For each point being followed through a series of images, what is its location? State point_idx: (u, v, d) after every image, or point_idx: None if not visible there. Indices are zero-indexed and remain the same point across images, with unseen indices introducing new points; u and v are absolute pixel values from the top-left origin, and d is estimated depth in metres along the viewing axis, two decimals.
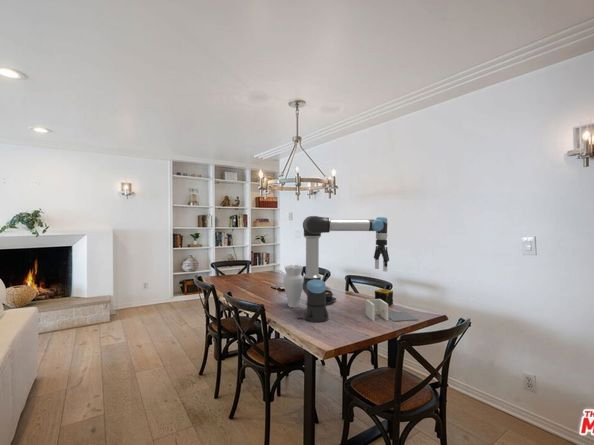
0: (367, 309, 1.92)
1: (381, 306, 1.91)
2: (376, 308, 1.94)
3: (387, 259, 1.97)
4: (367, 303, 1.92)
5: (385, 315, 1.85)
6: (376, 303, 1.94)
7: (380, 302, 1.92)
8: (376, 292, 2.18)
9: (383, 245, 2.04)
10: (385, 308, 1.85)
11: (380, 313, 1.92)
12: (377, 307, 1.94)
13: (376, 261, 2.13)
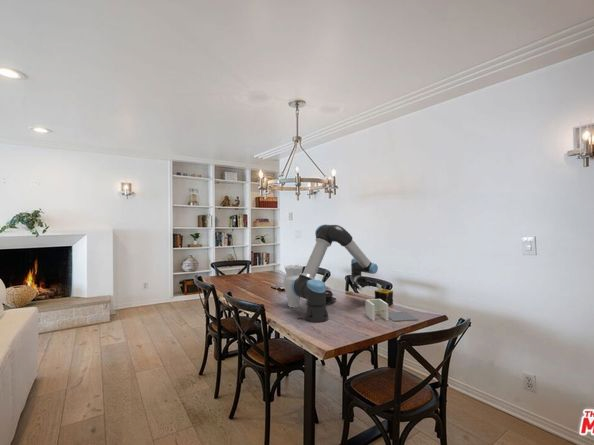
0: (367, 309, 1.92)
1: (381, 306, 1.91)
2: (376, 308, 1.94)
3: None
4: (367, 303, 1.92)
5: (385, 315, 1.85)
6: (376, 303, 1.94)
7: (380, 302, 1.92)
8: (376, 292, 2.18)
9: None
10: (385, 308, 1.85)
11: (380, 313, 1.92)
12: (377, 307, 1.94)
13: None
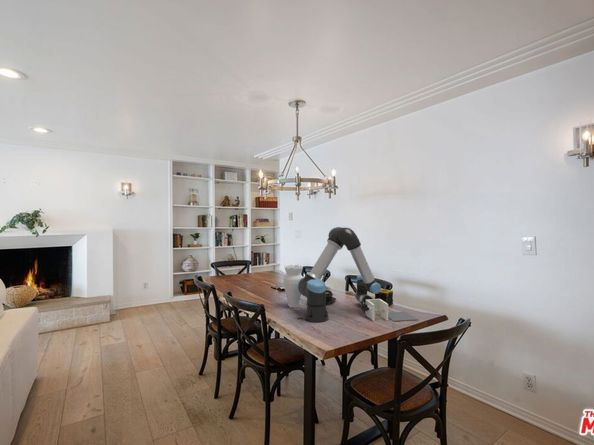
0: None
1: (381, 306, 1.91)
2: (376, 308, 1.94)
3: None
4: (367, 303, 1.92)
5: (385, 315, 1.85)
6: (376, 303, 1.94)
7: (380, 302, 1.92)
8: None
9: None
10: (385, 308, 1.85)
11: (380, 313, 1.92)
12: (377, 307, 1.94)
13: None
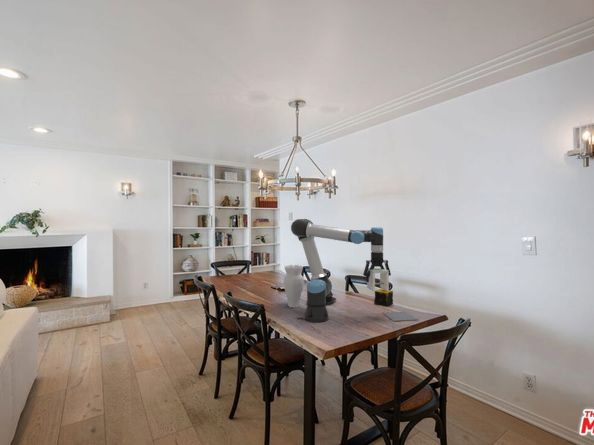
0: None
1: None
2: None
3: (364, 274, 1.87)
4: None
5: None
6: None
7: None
8: (376, 292, 2.18)
9: None
10: None
11: None
12: None
13: None
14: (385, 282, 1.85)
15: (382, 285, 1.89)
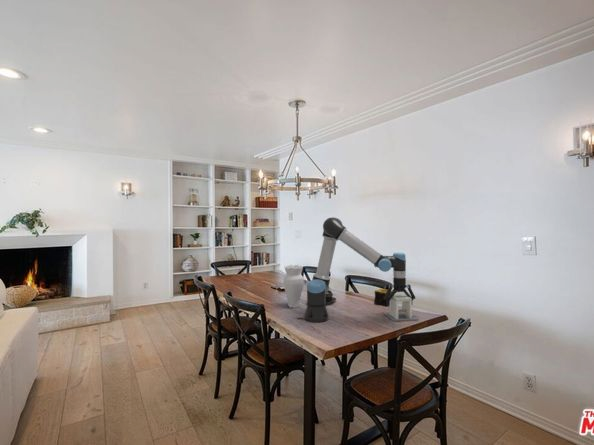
0: None
1: None
2: None
3: (384, 298, 1.89)
4: None
5: None
6: None
7: None
8: (376, 292, 2.18)
9: None
10: None
11: None
12: None
13: None
14: (408, 310, 1.87)
15: (404, 312, 1.91)
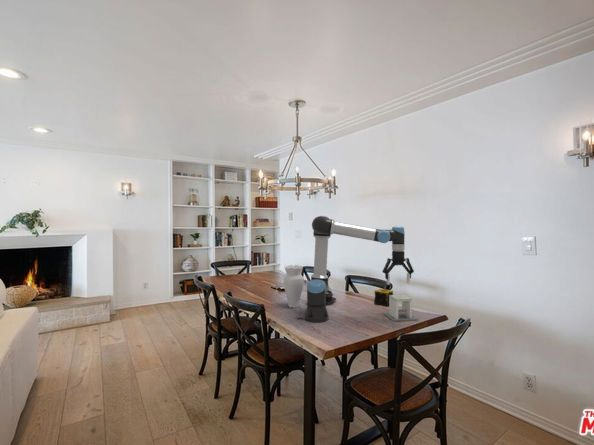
0: None
1: None
2: None
3: (383, 271, 1.89)
4: None
5: None
6: None
7: None
8: (376, 292, 2.18)
9: (392, 257, 1.90)
10: None
11: None
12: None
13: (407, 275, 1.92)
14: (408, 310, 1.87)
15: (404, 312, 1.91)
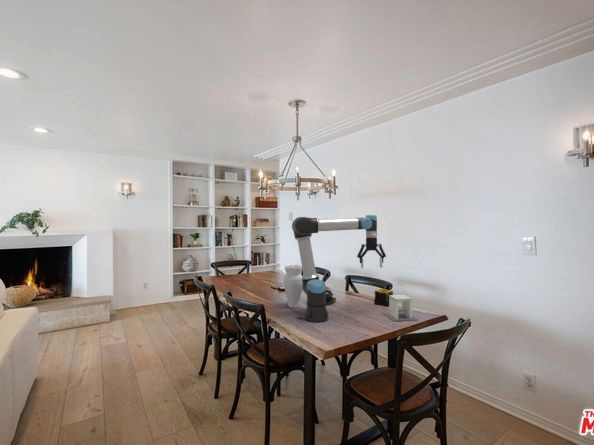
0: None
1: None
2: None
3: (357, 256, 2.06)
4: None
5: None
6: None
7: None
8: (376, 292, 2.18)
9: (366, 242, 2.07)
10: None
11: None
12: None
13: (380, 259, 2.09)
14: (408, 310, 1.87)
15: (404, 312, 1.91)
